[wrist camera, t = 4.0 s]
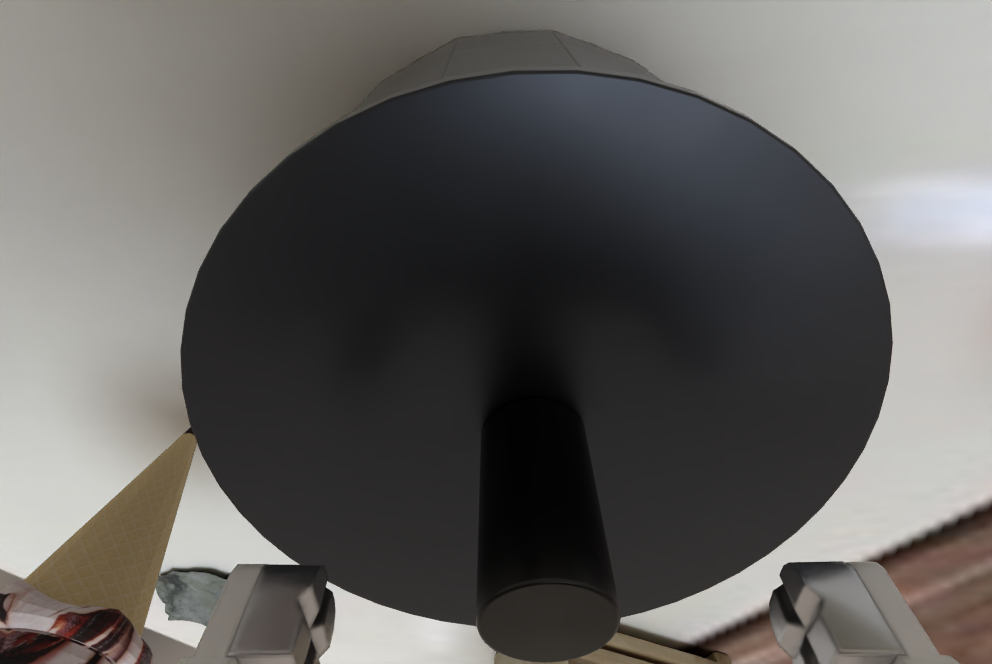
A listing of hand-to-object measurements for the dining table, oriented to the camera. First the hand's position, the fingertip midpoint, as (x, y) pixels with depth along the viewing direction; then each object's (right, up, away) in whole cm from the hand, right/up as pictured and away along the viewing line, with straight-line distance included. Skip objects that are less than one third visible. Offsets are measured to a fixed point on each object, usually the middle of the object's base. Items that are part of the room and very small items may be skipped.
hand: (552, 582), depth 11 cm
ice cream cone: (-15, +1, +17) cm, 23 cm away
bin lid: (0, +2, +3) cm, 4 cm away
